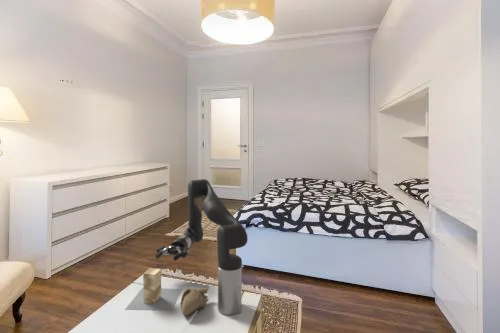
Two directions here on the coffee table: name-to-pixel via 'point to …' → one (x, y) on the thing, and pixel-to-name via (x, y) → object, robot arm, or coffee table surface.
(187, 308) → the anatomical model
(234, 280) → the robot arm
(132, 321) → the coffee table surface
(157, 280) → the birch block
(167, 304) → the slate mat
